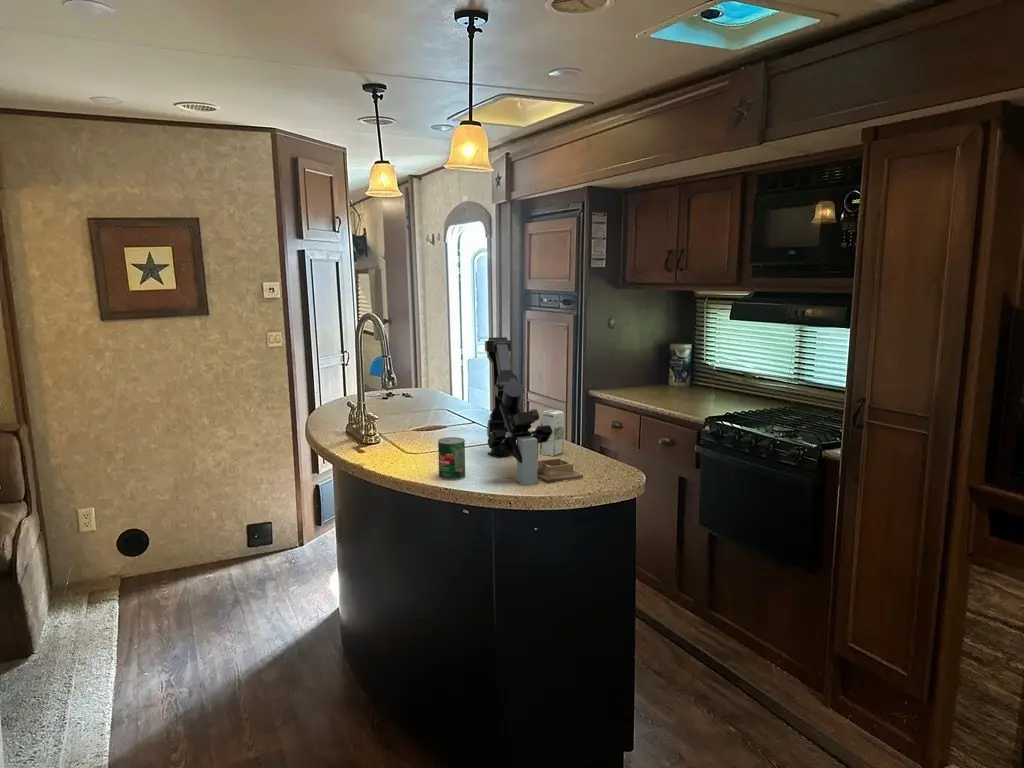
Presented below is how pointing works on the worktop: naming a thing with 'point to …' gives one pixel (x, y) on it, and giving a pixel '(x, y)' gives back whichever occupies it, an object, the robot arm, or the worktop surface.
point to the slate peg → (527, 460)
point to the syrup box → (556, 439)
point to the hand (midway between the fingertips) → (529, 461)
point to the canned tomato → (451, 458)
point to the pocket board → (556, 470)
